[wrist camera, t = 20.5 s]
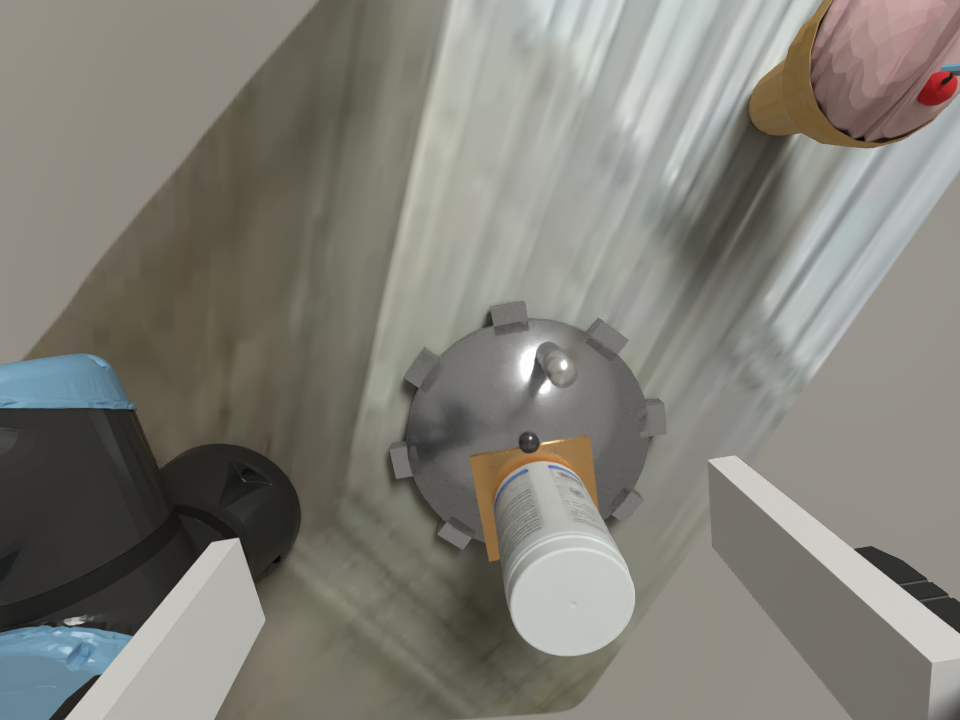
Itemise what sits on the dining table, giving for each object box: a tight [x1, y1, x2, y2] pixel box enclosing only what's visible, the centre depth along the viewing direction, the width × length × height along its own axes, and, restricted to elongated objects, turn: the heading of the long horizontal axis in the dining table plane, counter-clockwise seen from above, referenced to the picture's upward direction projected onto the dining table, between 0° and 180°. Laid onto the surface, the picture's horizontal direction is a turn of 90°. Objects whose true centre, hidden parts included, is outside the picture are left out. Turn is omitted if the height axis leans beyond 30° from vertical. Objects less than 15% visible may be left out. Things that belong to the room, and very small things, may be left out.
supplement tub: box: [493, 461, 635, 656], centre depth 42 cm, size 10×10×15 cm
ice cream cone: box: [749, 0, 960, 148], centre depth 34 cm, size 11×11×20 cm
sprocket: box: [389, 301, 666, 562], centre depth 45 cm, size 27×27×9 cm
